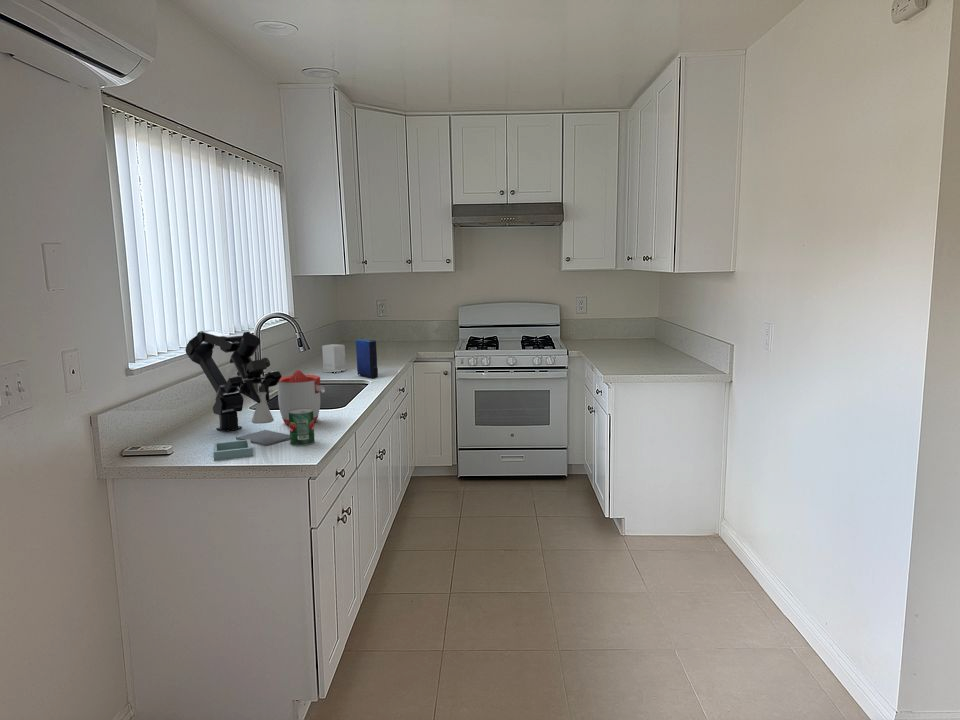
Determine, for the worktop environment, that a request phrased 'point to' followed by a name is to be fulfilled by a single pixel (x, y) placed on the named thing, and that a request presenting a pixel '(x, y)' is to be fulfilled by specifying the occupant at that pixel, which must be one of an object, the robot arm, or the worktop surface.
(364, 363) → the book
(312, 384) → the citrus juicer
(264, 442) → the mat
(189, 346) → the robot arm
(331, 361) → the supplement box
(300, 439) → the canned tomato
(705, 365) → the worktop surface
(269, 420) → the flask
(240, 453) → the shallow square tray
